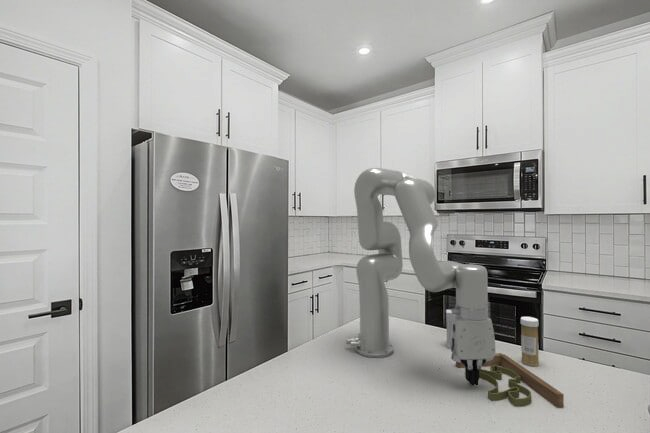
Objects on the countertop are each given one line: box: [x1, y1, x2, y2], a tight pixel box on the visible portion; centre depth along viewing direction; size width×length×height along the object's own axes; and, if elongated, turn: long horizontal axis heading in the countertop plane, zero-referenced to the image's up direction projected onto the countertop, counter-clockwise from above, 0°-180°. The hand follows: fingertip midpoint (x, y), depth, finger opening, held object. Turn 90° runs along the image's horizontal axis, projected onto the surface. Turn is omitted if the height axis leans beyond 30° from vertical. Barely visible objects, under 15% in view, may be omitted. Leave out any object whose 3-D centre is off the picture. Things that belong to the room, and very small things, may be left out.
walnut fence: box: [455, 352, 565, 408], centre depth 86 cm, size 15×23×3 cm, turn 4°
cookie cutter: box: [479, 364, 532, 408], centre depth 85 cm, size 18×12×2 cm, turn 178°
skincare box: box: [445, 309, 456, 349], centre depth 111 cm, size 6×4×12 cm
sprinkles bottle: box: [520, 316, 540, 367], centre depth 98 cm, size 5×5×14 cm
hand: (472, 382), depth 85 cm, fingers closed
